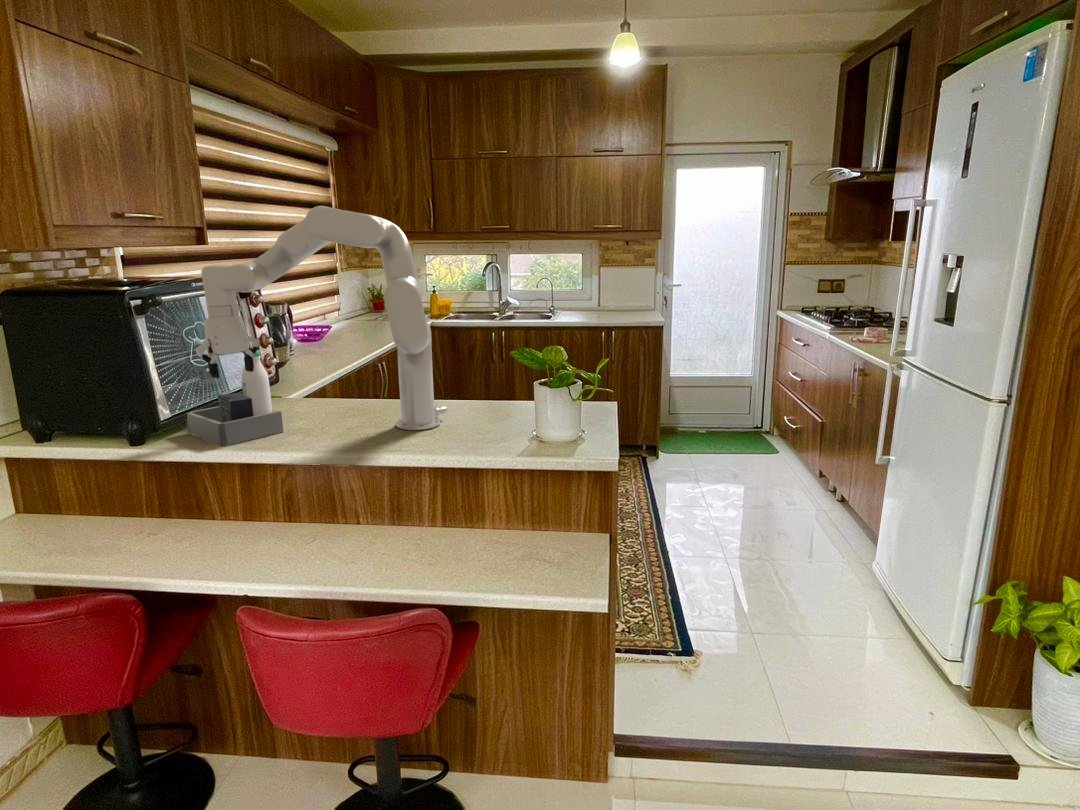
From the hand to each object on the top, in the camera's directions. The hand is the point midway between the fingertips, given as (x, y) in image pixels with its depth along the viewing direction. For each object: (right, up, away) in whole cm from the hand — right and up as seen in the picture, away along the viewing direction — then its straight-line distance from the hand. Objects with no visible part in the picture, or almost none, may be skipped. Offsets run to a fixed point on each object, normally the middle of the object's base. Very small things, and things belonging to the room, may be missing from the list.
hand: (233, 374), depth 184 cm
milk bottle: (-2, -12, +23) cm, 26 cm away
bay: (0, -16, +4) cm, 17 cm away
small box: (0, -16, +4) cm, 17 cm away
